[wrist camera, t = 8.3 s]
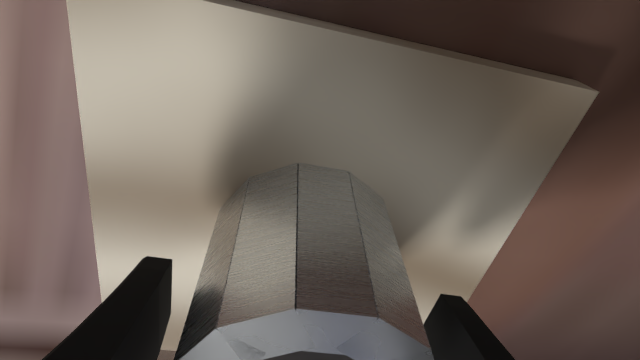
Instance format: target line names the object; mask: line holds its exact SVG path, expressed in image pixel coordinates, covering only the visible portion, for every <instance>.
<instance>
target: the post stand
mask: <svg viewBox="0 0 640 360" xmlns="http://www.w3.org/2000/svg"><path fill="white" fill-rule="evenodd" d="M66 2H67V11H68V19H69V28H70V36H71V45H72V53H73V62H74V70H75V79H76V87H77V96H78V104H79V113H80V121H81V130H82V138H83V147H84V155H85V164H86V172H87V180H88V189H89V197H90V206H91V214H92V223H93V231H94V240H95V248H96V257H97V265H98V274H99V282H100V291H101V299H102V302H103V301H104V300H105V299H106V298H107V297H108V296H109V295H110V294H111V293H112V292H113V291H114V290H115V289H116V288H117V287H118V286H119V285H120V283H121V282H122V281H123V280H124V279H125V278H126V277H127V276H128V275H129V274H130V272H131V271H132V270H133V269H134V268H135V267H136V266H137V264H138V263H139V262H140V261H141V260H142V259H143V258H145V257H146V256H151V257H158V258H166V259H172V297H171V315H170V319H169V322H168V325H167V329H166V332H165V336H164V339H163V342H162V346H161V349H160V350H171V351H176V350H177V347H178V344H179V341H180V337H181V334H182V331H183V328H184V324H185V321H186V318H187V315H188V311H189V308H190V305H191V302H192V298H193V295H194V292H195V288H196V285H197V282H198V279H199V275H200V272H201V269H202V266H203V262H204V259H205V256H206V253H207V249H208V246H209V243H210V240H211V236H212V233H213V230H214V226H215V223H216V220H217V217H218V213H219V210H220V208H221V207H222V206H223V205H224V204H225V203H226V201H227V200H228V199H229V198H230V197H231V196H232V195H233V194H234V193H235V192H236V191H237V190H238V189H239V188H240V187H241V186H242V184H243V183H244V182H245V181H246V180H247V179H248V178H250V177H251V176H255V175H258V174H261V173H265V172H268V171H271V170H275V169H278V168H281V167H285V166H288V165H291V164H295V163H304V164H310V165H316V166H322V167H328V168H334V169H340V170H346V171H348V172H351V173H352V174H353V175H354V176H356V177H357V178H358V179H359V180H361V181H362V182H363V183H364V184H366V185H367V186H368V187H370V188H371V189H372V190H373V191H375V192H376V193H377V194H378V195H380V196H381V197H382V198H383V199H384V202H385V205H386V209H387V212H388V215H389V218H390V221H391V224H392V227H393V231H394V234H395V237H396V240H397V243H398V246H399V250H400V253H401V256H402V259H403V262H404V265H405V268H406V272H407V275H408V278H409V281H410V284H411V287H412V291H413V294H414V297H415V300H416V303H417V306H418V310H419V313H420V316H421V319H422V322H423V324H424V322H425V321H426V319H427V317H428V315H429V314H430V312H431V310H432V308H433V307H434V305H435V303H436V301H437V299H438V298H439V296H440V294H447V295H455V296H461V297H462V298H463V299H464V300H465V301H466V302H467V301H468V299H469V298H470V296H471V294H472V293H473V291H474V290H475V288H476V286H477V285H478V283H479V282H480V280H481V279H482V277H483V275H484V274H485V272H486V271H487V269H488V267H489V266H490V264H491V263H492V261H493V260H494V258H495V256H496V255H497V253H498V252H499V250H500V248H501V247H502V245H503V244H504V242H505V241H506V239H507V237H508V236H509V234H510V233H511V231H512V229H513V228H514V226H515V225H516V223H517V221H518V220H519V218H520V217H521V215H522V214H523V212H524V210H525V209H526V207H527V206H528V204H529V202H530V201H531V199H532V198H533V196H534V195H535V193H536V191H537V190H538V188H539V187H540V185H541V183H542V182H543V180H544V179H545V177H546V176H547V174H548V172H549V171H550V169H551V168H552V166H553V164H554V163H555V161H556V160H557V158H558V156H559V155H560V153H561V152H562V150H563V149H564V147H565V145H566V144H567V142H568V141H569V139H570V137H571V136H572V134H573V133H574V131H575V130H576V128H577V126H578V125H579V123H580V122H581V120H582V118H583V117H584V115H585V114H586V112H587V111H588V109H589V107H590V106H591V104H592V103H593V101H594V99H595V98H596V96H597V95H598V93H599V92H598V91H596V90H595V89H593V88H591V87H589V86H587V85H585V84H583V83H581V82H579V81H577V80H574V79H569V78H565V77H561V76H556V75H552V74H548V73H544V72H539V71H535V70H531V69H526V68H522V67H518V66H514V65H509V64H505V63H501V62H496V61H492V60H488V59H484V58H479V57H475V56H471V55H467V54H462V53H458V52H454V51H449V50H445V49H441V48H437V47H432V46H428V45H424V44H419V43H415V42H411V41H407V40H402V39H398V38H394V37H389V36H385V35H381V34H377V33H372V32H368V31H364V30H359V29H355V28H351V27H347V26H342V25H338V24H334V23H329V22H325V21H321V20H317V19H312V18H308V17H304V16H300V15H295V14H291V13H287V12H282V11H278V10H274V9H270V8H265V7H261V6H257V5H252V4H248V3H244V2H240V1H235V0H66ZM263 360H354V359H352V358H350V357H348V356H346V355H340V354H330V353H319V352H308V351H298V352H293V353H289V354H285V355H280V356H276V357H272V358H267V359H263Z"/></svg>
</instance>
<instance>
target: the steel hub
mask: <svg viewBox="0 0 640 360" xmlns="http://www.w3.org/2000/svg"><path fill="white" fill-rule="evenodd" d="M298 351H308V352H319V353H330V354H340V355H346V356H348V357H350V358H352V359H354V360H434V358H433V354H432V351H431V347H430V344H429V341H428V338H427V335H426V332H425V328H424V325H423V322H422V319H421V316H420V313H419V310H418V306H417V303H416V300H415V297H414V294H413V291H412V287H411V284H410V281H409V278H408V275H407V272H406V268H405V265H404V262H403V259H402V256H401V253H400V250H399V246H398V243H397V240H396V237H395V234H394V231H393V227H392V224H391V221H390V218H389V215H388V212H387V209H386V205H385V202H384V199H383V198H382V197H381V196H380V195H378V194H377V193H376V192H375V191H373V190H372V189H371V188H370V187H368V186H367V185H366V184H364V183H363V182H362V181H361V180H359V179H358V178H357V177H356V176H354V175H353V174H352V173H351V172H348V171H346V170H340V169H334V168H328V167H322V166H316V165H310V164H304V163H295V164H291V165H288V166H285V167H281V168H278V169H275V170H271V171H268V172H265V173H261V174H258V175H255V176H251V177H250V178H248V179H247V180H246V181H245V182H244V183H243V184H242V186H241V187H240V188H239V189H238V190H237V191H236V192H235V193H234V194H233V195H232V196H231V197H230V198H229V199H228V200H227V201H226V203H225V204H224V205H223V206H222V207H221V208H220V210H219V213H218V217H217V220H216V223H215V226H214V230H213V233H212V236H211V240H210V243H209V246H208V249H207V253H206V256H205V259H204V262H203V266H202V269H201V272H200V275H199V279H198V282H197V285H196V288H195V292H194V295H193V298H192V302H191V305H190V308H189V311H188V315H187V318H186V321H185V324H184V328H183V331H182V334H181V337H180V341H179V344H178V347H177V350H176V354H175V357H174V360H263V359H267V358H272V357H276V356H280V355H285V354H289V353H293V352H298Z"/></svg>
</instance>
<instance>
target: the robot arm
mask: <svg viewBox="0 0 640 360" xmlns="http://www.w3.org/2000/svg"><path fill="white" fill-rule="evenodd" d="M171 297H172V259H166V258H158V257H151V256H146V257H145V258H143V259H142V260H141V261H140V262H139V263H138V264H137V266H136V267H135V268H134V269H133V270H132V271H131V272H130V274H129V275H128V276H127V277H126V278H125V279H124V280H123V281H122V282H121V283H120V285H119V286H118V287H117V288H116V289H115V290H114V291H113V292H112V293H111V294H110V295H109V296H108V297H107V298H106V299H105V300H104V301H103V302H102V303H101V304H100V305H99V306H98V307H97V308H96V309H95V310H94V311H93V312H92V313H91V314H90V315H89V316H88V317H87V318H86V319H85V320H84V321H83V322H82V323H81V324H80V325H79V326H78V327H77V328H76V329H75V330H74V331H73V332H72V333H71V334H70V335H69V336H68V337H66V338H65V339H64V340H63V341H62V342H61V343H60V344H59V345H58V346H57V347H55V348H54V349H53V350H52V351H51V352H50V353H49V354H48V355H47V356H45V357H44V358H43V359H42V360H157V358H158V355H159V352H160V349H161V346H162V342H163V339H164V336H165V332H166V329H167V325H168V322H169V319H170V315H171ZM423 325H424V328H425V332H426V335H427V338H428V341H429V344H430V347H431V351H432V354H433V358H434V360H515V359H514V358H513V357H512V356H511V354H510V353H509V352H508V351H507V350H506V349H505V347H504V346H503V345H502V344H501V343H500V341H499V340H498V339H497V338H496V337H495V335H494V334H493V333H492V332H491V331H490V329H489V328H488V327H487V326H486V325H485V323H484V322H483V321H482V320H481V319H480V318H479V316H478V315H477V314H476V313H475V312H474V310H473V309H472V308H471V307H470V306H469V305H468V303H467V302H466V301H465V300H464V299H463V298H462V297H461V296H455V295H447V294H440V296H439V298H438V299H437V301H436V303H435V305H434V307H433V308H432V310H431V312H430V314H429V315H428V317H427V319H426V321H425V322H424V324H423Z"/></svg>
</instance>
